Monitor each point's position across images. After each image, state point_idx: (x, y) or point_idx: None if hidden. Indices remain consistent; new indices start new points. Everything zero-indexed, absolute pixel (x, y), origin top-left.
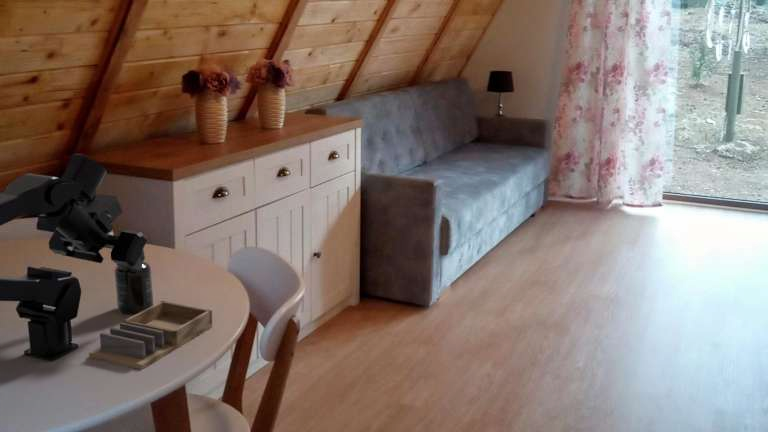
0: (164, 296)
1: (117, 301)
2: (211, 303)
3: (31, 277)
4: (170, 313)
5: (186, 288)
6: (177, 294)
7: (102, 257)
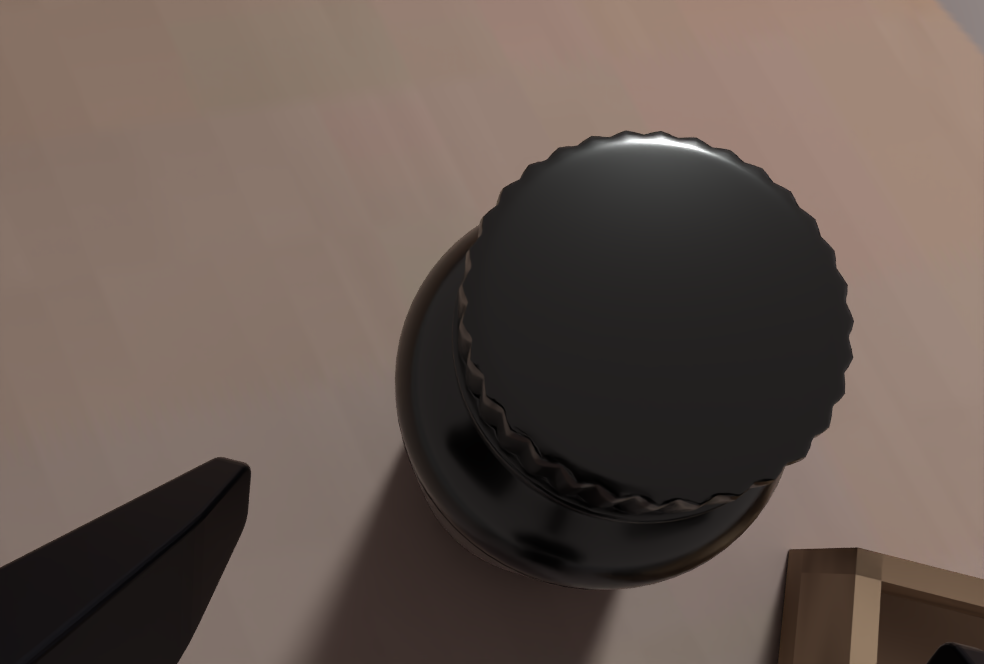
0: None
1: (443, 526)
2: (943, 258)
3: None
4: (897, 594)
5: (673, 59)
6: None
7: (236, 486)
